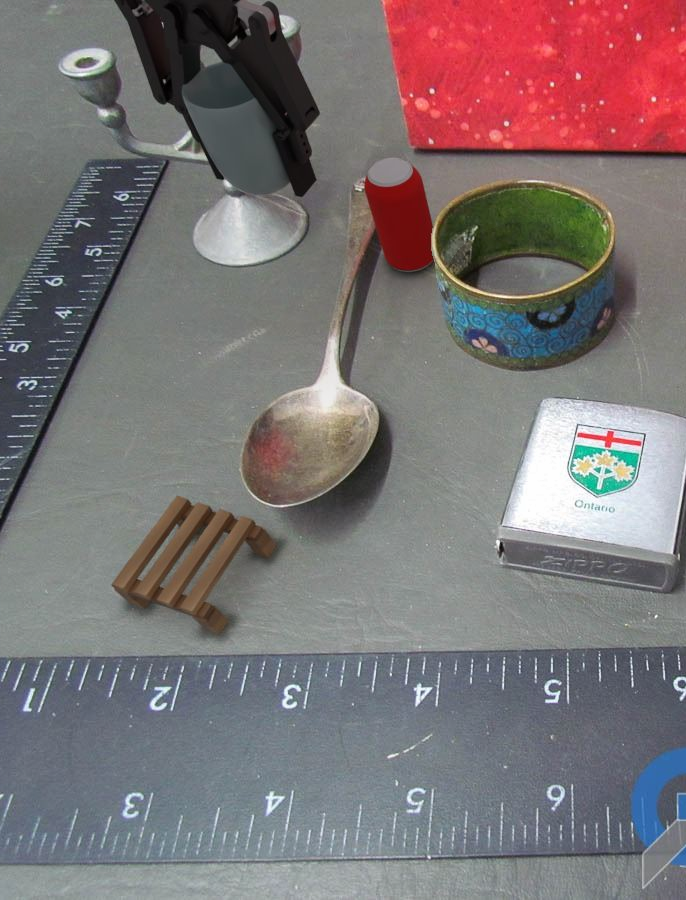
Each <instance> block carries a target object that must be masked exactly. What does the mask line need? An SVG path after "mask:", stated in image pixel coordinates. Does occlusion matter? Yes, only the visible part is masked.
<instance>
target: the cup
mask: <svg viewBox="0 0 686 900" xmlns="http://www.w3.org/2000/svg"><path fill="white" fill-rule="evenodd" d="M181 93H182V97H183V100H184V103H185V106H186V108H187V110H188V113H189V115H190V117H191V119H192V121H193V123H194V126H195V128H196V130H197V132H198V134H199V136H200V138H201V140H202V142H203V144H204V146H205V148H206V150H207V152H208V154H209V156H210V157H211V159H212V161H213V162H214V164H215V165H216V167H217V169H218V170H219V171H220V173H221V174H222V175H223V177H224V178H225V179H224V180H225V181H226V182H227V183H228V184H229V185H231V186H232V187H233V188H235V189H236V190H237V191H240V192H241V193H244V194H246V195H249V196H257V197H264V196H268V195H274V194H275V193H278V192H280V191H282V190H283V189H285V188H286V187H287V186H289V185H291V183H290V180H289V178H288V175H287V172H286V170H285V167H284V165H283V162H282V159H281V157H280V154H279V151H278V149H277V146H276V144H275V141H274V138H273V136H272V134H273V133H274V132H275V131H276V129H277V127H276V126H275V125H274V123H273V122H272V121H271V119H270V118H269V116H268V115H267V114H266V112H265V111H264V110H263V108H262V107H261V106H260V104H259V103H258V101H257V99H256V98H255V97H254V96H253V95H252V93H251V92H250V91H249V89H248V88H247V86H246V85H245V84H244V82H243V81H242V80H241V78H240V77H239V76H238V74H237V73H236V71H235V70H234V69H233V67H232V66H231V65H230V64H227V63H224V62H223V61H222V60H221V61H218V62H215V63H212V64H209V65H207V66H205V67H203V68H202V67H201V70H200V71H199V73H198V74H197V75H196V76H195V77H194V78H193V79H192V80H191V81H190V82H189V83H187V84H186V85H184V84H183V86H182V91H181ZM286 114H287V113H285V115H286Z"/></svg>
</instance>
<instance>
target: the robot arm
mask: <svg viewBox="0 0 686 900" xmlns="http://www.w3.org/2000/svg"><path fill="white" fill-rule="evenodd" d="M113 1H114V4H116V6H117V7H118V9H119V11H120V13H121V14H122V16H123V17H124V19H125V21H126V22H127V25H128V28H129V30H130V33H131V36H132V39H133V42H134V44H135V48H136V51H137V53H138V56H139V59H140V63H141V65H142V68H143V71H144V73H145V76H146V79H147V82H148V84H149V87H150V91H151V93H152V96H153V98H154V100H155V101H156V103H158V104H160V105H163V106H165V105H166V104H168V105H171V106H173V107H174V109H175V111H176V112H177V113H179V114H180V115H182V117H183V119H184V121H185V123H186V126H187V127H188V129H189V130H188V131H190V135H191V136H192V138H193V139H194V141H195V142H196V143H199V144H200V147H201V150H202V152H203V153H204V156H205V158H206V160H207V162H208V164H209V166H210V169H211V170H212V173H213V174H214V176H215V179H216V180H221V181H224V180H226V179H225V178H224V177H223V175H222V174H221V173H220V171H219V170H218V169H217V167H216V165H215V164H214V162H213V161H212V159H211V157H210V156H209V154H208V152H207V150H206V148H205V146H204V144H203V142H202V140H201V138H200V136H199V134H198V132H197V130H196V128H195V126H194V123H193V121H192V119H191V117H190V115H189V113H188V110H187V108H186V106H185V103H184V100H183V97H182V93H181V91H182V86H183V84H184V85H186V84H187V83H189V82H190V81H191V80H192V79H193V78H194V77H195V76H196V75H197V74H198V73H199V71H200V70H201V69H202V67H201V46H204V47H206V48H208V49H211V50H213V51H214V52H215V54H216V55H217V56H218V58H219V59H220V60H221V62H222V61H223V62H224V63H227V64H230V65H231V66H232V67H233V69H234V70H235V71H236V73H237V74H238V76H239V77H240V78H241V80H242V81H243V82H244V84H245V85H246V86H247V88H248V89H249V91H250V92H251V93H252V95H253V96H254V97H255V98H256V99H257V101H258V103H259V104H260V106H261V107H262V108H263V110H264V111H265V112H266V114H267V115H268V116H269V118H270V119H271V121H272V122H273V123H274V125H275V126H276V127H277V129H276V131H275V132H274V133H273V134H272V136H273V138H274V141H275V144H276V146H277V149H278V151H279V154H280V157H281V159H282V162H283V165H284V167H285V170H286V172H287V175H288V178H289V180H290V185H291V187H292V188H291V189H292V190H293V193H294V195H295V197H300V198H303V197H304V196H305V195H306V194H307V192H308V191H309V190H310V189H311V188H312V186H314V184H315V183H316V181H317V177H316V174H315V171H314V167H313V165H312V162H311V159H310V158H311V157H312V156H313V148H312V147H311V144H310V141H309V137H308V135H307V132H306V131H307V130H308V129H309V128H310V127H311V125H312V124H313V123H314V122H315V121H316V120H317V118H318V117H319V116H320V115H321V112H320V109H319V107H318V104H317V103H316V101H315V99H314V96H313V94H312V92H311V90H310V87H309V86H308V83H307V82H306V79H305V77H304V75H303V73H302V71H301V69H300V67H299V64H298V62H297V60H296V58H295V55H294V53H293V52H292V50H291V47H290V45H289V43H288V41H287V39H286V37H285V36H286V35H284V32H283V28H282V23H281V17H280V12H279V8H278V6H277V5H276V4H275V3H274V2H272V1H270V0H266V1H265V2H263V3H262V4H261V5H259V4H256V3H253V2H250V1H247V0H113ZM236 38H237V39H236ZM234 39H236V41H234ZM232 41H234V42H233V43H232V44H231V45H229V44H230V43H231V42H232ZM164 81H165V82H164ZM285 113H287V114H286V115H285Z"/></svg>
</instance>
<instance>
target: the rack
mask: <svg viewBox="0 0 686 900" xmlns="http://www.w3.org/2000/svg"><path fill="white" fill-rule="evenodd" d="M176 526H178V527H179V528H178V530H177V531H176V532H175V533H174V535H173V536H172V538H171V539H170V540H169V542H168V543H167V545H166V546H165V548H163V551H162V552H161V553H160V555H159V556H158V557H157V558H156V559H155V562H154V563H153V565H152V566H151V567H150V568H149V570H148V571H147V573H146V574H145V576H143V578H142V579H139V577H141V574H142V573H143V572H144V570H145V569H146V568H147V567H148V565H149V563H150V562H151V561H152V559H153V558H154V556H155V555H156V554H157V553H158V551H159V549H160V548H161V547H162V546H163V544H164V542H165V541H166V540H167V538H168V537H169V536H170V535H171V533H172V531H173V530H174V529H175V527H176ZM202 527H206V528H205V529H204V530H203V532H202V533H201V535H200V536H199V537H198V538H197V541H196V542H195V543H194V545H193V546H192V548H191V549H190V551H189V552H188V553H187V555H186V556H185V558H184V559H183V560H182V562H181V564H180V565H179V566H178V567H177V569H176V571H175V572H174V574H173V575H172V577H171V578H170V579H169V581H168V582H167V584H166V585H165V586H164V587H162V586H161V585H162V583H163V582H164V581H165V580H166V578H167V576H168V575H169V574H170V572H171V570H173V568H174V566H175V565H176V564H177V562H178V561H179V560H180V558H181V556H182V555H183V553H184V552H185V550H186V549H187V548H188V546H189V545H190V544H191V542H192V540H193V539H194V538H195V537H196V535H197V534H198V533H199V531H200V530H201V529H202ZM224 534H227V536H226V538H225V540H224V541H223V543H222V544H221V546H220V547H219V548H218V550H217V551H216V553H215V554H214V556H213V557H212V559H211V560H210V562H209V563H208V564H207V566H206V567H205V569H204V571H202V574H201V575H200V577H199V578H198V580H197V581H196V582H195V584H194V585H193V587H192V588H191V590H190V591H189V593H188V595H186V594H184V592H185V590H186V589H187V587H188V586H189V584H190V583H191V582H192V580H193V579H194V577H195V576H196V574H197V573H198V571H199V570H200V569H201V567H202V566H203V564H204V563H205V561H206V560H207V558H208V556H209V555H210V554H211V552H212V551H213V549H214V547H215V546H216V545H217V544H218V542H219V540H220V539H221V537H222V536H223V535H224ZM244 543H246V544H247V546H248V547H249V549H251V551H252V552H253V554H254V555H256V556H260V557H263V558H266V559H269V558H270V557H271V555H272V553H273V552H274V550H275V549H276V547H277V544H276V543H275V541H274V540H273V539H272V537H271V535H270V534H269V533H268V531H267V530H266V528H263V526H260V525H257V523H256V521H255V520H254V519H253V518H250V517H246V516H243V515H241V516H240V517H239V519H238V518H235V515H234V514H233V513H232V512H231V511H228V510H224V509H222V508H219V509H218V511H217V512H215V511H213V508H212V507H211V506H210V505H208V504H206V503H201V502H197V503H196V504H195V505H193V504H192V502H191V501H190V500H189V498H186V497H183V496H179V495H176V496H175V497H174V499H173V500H172V501H171V502H170V504H169V505H168V507H167V508H166V509H165V511H164V512H163V514H162V515H161V516H160V518H159V519H158V520H157V522H155V524H154V526H153V527H152V528H151V530H150V531H149V532H148V534H147V535H146V536H145V538H144V539H143V541H142V542H141V543H140V545H139V546H138V547H137V548H136V550H135V551H134V553H133V554H132V555H131V557H130V558H129V560H128V561H127V562H126V564H125V565H124V566H123V567H122V569H121V570H120V572H119V573H118V574H117V576H116V577H115V578H114V580H113V581H112V582H111V585H110V586H111V587H112V588H114V591H115V592H116V593H117V594H118V595H119V596H120V597H122V598H123V599H124V600H125V601H126V602H128V603H129V604H130V605H132V606H135V607H138V608H140V609H142V610H143V609H146V607H147V606H148V605H149V603H151V604H152V603H153V604H156V605H158V606H161V607H163V608H167V609H170V610H173V611H176V612H178V613H181V614H184V615H187V616H190V617H192V618H193V619H194V620H195V622H197V623H198V624H199V625H200V626H201V628H203V629H204V630H205V631H207V632H209V633H212V634H216V635H217V636H220V635H221V634H222V632H223V631H224V629H225V627H226V626H227V624H228V623H229V621H230V620H229V619H228V618H227V617H226V616H225V615H224V613H222V611H220V610H219V609H218V607H217V606H216V605H214V604H212V603H210V602H207V601H206V600H207V599H208V597H209V596H210V594H211V593H212V591H213V590H214V589H215V587H216V585H217V584H218V582H219V581H220V579H221V578H222V576H223V575H224V573H225V572H226V570H227V569H228V567H229V566H230V564H231V562H233V560H234V559H235V557H236V555H237V553H238V552H239V551H240V549H241V547H242V546H243V545H244Z"/></svg>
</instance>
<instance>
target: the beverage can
mask: <svg viewBox="0 0 686 900" xmlns="http://www.w3.org/2000/svg"><path fill="white" fill-rule="evenodd" d="M363 190H364V193H365V196H366V197H365V198H366V200H367V203H368V207H369V210H370V213H371V216H372V220H373V223H374V227H375V229H376V233H377V236H378V239H379V243H380V245H381V249H382V253H383V255H384V258H385V260H386V262H387V264H388V265H389V266H391V268H393V269H394V270H397V271H400V272H404V273H405V272H406V273H412V272H417V271H421V270H423V269H425V268H427V267H428V266H430V265H431V264H432V263H433V262H434V260H433V256H432V251H431V233H432V228H434V225H433V219H432V216H431V212H430V207H429V203H428V199H427V195H426V190H425V186H424V181H423V177H422V175H421V173H420V172H419V170H418V169H417V168H416V167H415V166H414V165H413V164H412V163H410V162H409V161H408V160H406V159H403V158H401V157H387V158H383V159H381V160H378V161H376V162H375V163H373V164H372V165H371V166H370V167H369V168H368V170H367V173H366V175H365V179H364V184H363Z"/></svg>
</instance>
